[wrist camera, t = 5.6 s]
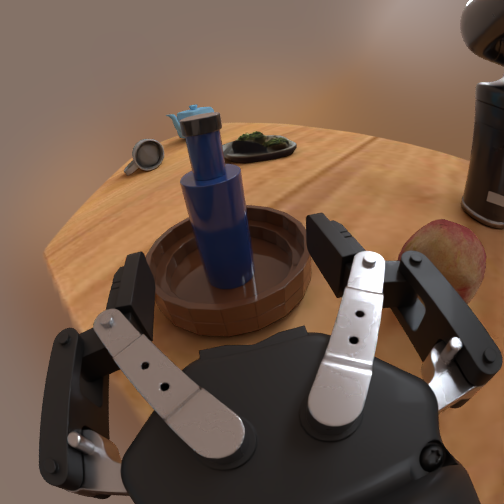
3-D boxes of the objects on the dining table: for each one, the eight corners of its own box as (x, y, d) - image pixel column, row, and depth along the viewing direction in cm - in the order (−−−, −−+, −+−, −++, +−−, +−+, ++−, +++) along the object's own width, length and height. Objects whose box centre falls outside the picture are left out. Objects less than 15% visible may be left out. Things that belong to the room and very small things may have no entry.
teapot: (164, 145, 84) (157, 113, 77) (206, 130, 93) (201, 101, 87) (182, 147, 76) (174, 111, 70) (227, 131, 86) (222, 99, 79)
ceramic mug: (160, 159, 69) (153, 133, 64) (167, 164, 63) (160, 135, 58) (124, 173, 65) (116, 146, 60) (127, 180, 59) (118, 150, 55)
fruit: (373, 297, 23) (390, 218, 18) (419, 264, 25) (436, 195, 20) (435, 351, 17) (477, 275, 12) (474, 305, 19) (506, 235, 14)
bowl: (208, 228, 35) (201, 200, 33) (326, 246, 29) (327, 214, 27) (129, 310, 25) (113, 280, 22) (275, 365, 19) (272, 334, 16)
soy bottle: (221, 253, 29) (192, 113, 21) (263, 261, 27) (243, 107, 19) (196, 282, 26) (153, 127, 17) (241, 294, 24) (208, 120, 15)
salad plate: (213, 148, 69) (210, 131, 67) (277, 137, 71) (275, 121, 68) (222, 169, 54) (218, 147, 51) (304, 155, 56) (303, 134, 53)
